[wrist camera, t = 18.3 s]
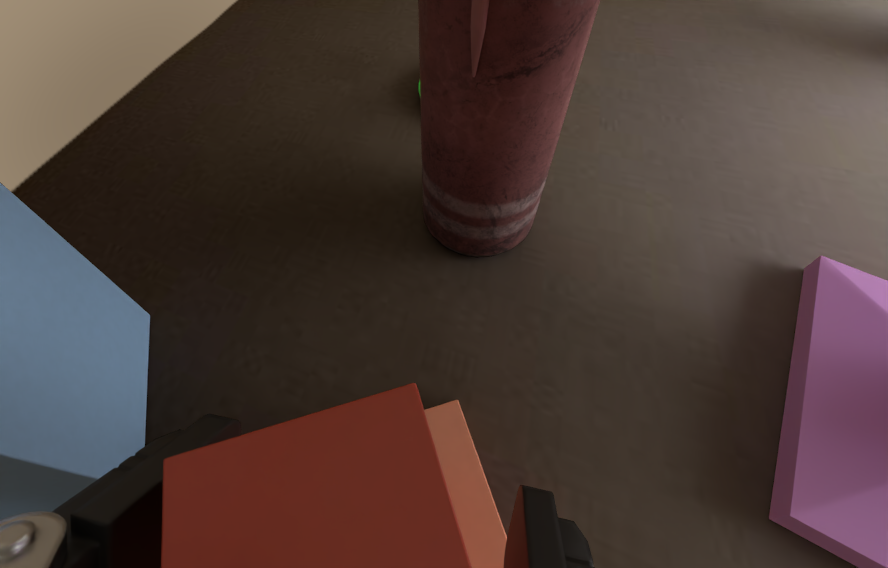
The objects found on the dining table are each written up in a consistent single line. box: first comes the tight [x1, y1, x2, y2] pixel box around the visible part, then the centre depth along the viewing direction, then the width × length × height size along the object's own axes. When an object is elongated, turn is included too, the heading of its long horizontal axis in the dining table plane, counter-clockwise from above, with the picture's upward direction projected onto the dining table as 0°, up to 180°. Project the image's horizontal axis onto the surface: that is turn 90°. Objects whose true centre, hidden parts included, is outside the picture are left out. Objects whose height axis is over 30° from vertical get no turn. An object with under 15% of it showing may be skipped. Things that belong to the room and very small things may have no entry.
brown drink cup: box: [418, 0, 600, 257], centre depth 18 cm, size 6×6×14 cm
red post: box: [161, 383, 472, 568], centre depth 11 cm, size 4×4×10 cm
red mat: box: [424, 400, 507, 568], centre depth 15 cm, size 9×9×1 cm
